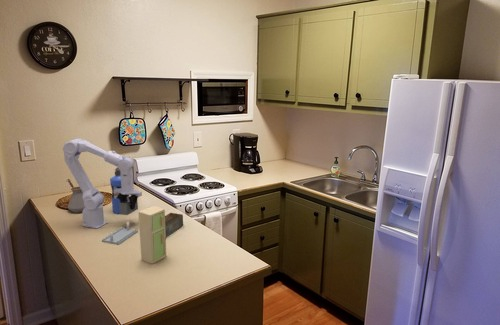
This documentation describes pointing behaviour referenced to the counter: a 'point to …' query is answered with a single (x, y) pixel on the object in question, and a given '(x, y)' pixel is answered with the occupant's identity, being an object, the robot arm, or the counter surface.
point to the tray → (120, 235)
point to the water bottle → (115, 184)
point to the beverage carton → (173, 223)
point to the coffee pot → (76, 199)
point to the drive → (126, 207)
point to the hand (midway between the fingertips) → (128, 208)
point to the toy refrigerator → (152, 234)
